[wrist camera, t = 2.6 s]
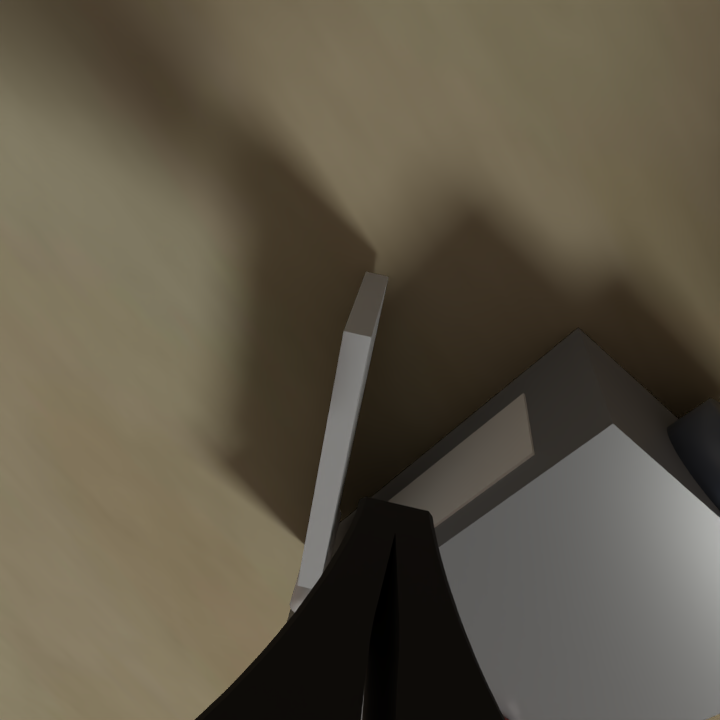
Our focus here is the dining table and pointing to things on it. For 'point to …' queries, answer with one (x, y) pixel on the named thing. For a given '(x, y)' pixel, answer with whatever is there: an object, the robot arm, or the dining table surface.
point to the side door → (340, 432)
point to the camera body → (580, 542)
